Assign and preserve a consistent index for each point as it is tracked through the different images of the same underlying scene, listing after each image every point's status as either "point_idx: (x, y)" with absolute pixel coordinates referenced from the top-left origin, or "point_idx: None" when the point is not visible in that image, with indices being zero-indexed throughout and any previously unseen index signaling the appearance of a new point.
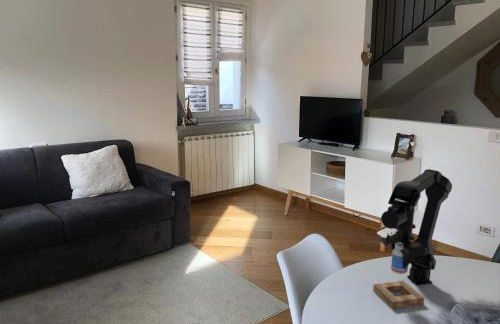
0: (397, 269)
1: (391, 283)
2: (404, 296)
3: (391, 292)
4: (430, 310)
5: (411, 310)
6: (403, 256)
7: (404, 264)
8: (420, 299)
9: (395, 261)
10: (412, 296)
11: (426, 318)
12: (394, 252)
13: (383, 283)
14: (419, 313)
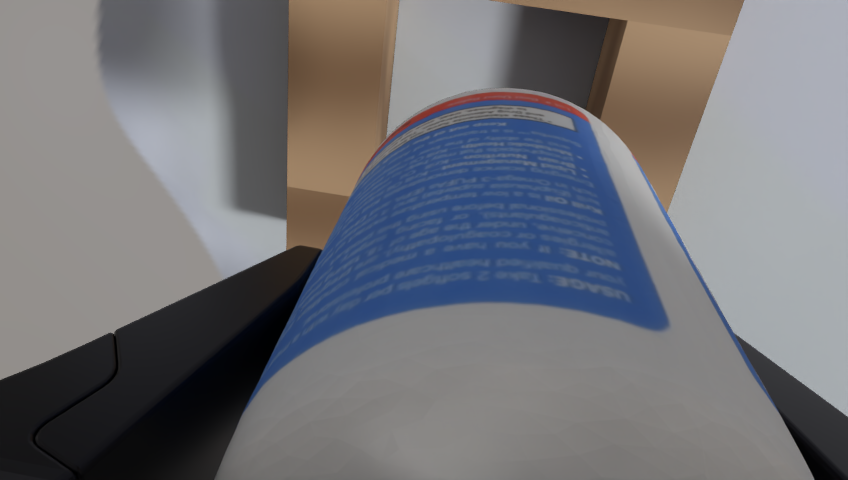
0: (396, 141)
1: (653, 162)
2: (360, 94)
3: (588, 99)
4: (215, 208)
5: (247, 52)
6: (53, 419)
7: (223, 285)
8: (291, 214)
9: (441, 191)
10: (336, 173)
11: (108, 86)
12: (535, 379)
13: (708, 71)
14: (188, 87)
